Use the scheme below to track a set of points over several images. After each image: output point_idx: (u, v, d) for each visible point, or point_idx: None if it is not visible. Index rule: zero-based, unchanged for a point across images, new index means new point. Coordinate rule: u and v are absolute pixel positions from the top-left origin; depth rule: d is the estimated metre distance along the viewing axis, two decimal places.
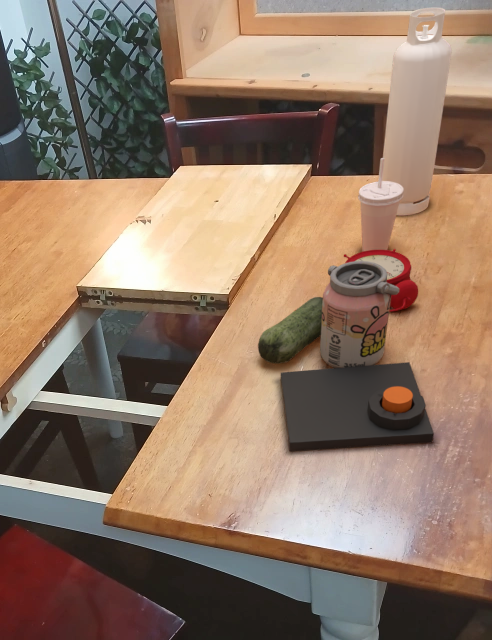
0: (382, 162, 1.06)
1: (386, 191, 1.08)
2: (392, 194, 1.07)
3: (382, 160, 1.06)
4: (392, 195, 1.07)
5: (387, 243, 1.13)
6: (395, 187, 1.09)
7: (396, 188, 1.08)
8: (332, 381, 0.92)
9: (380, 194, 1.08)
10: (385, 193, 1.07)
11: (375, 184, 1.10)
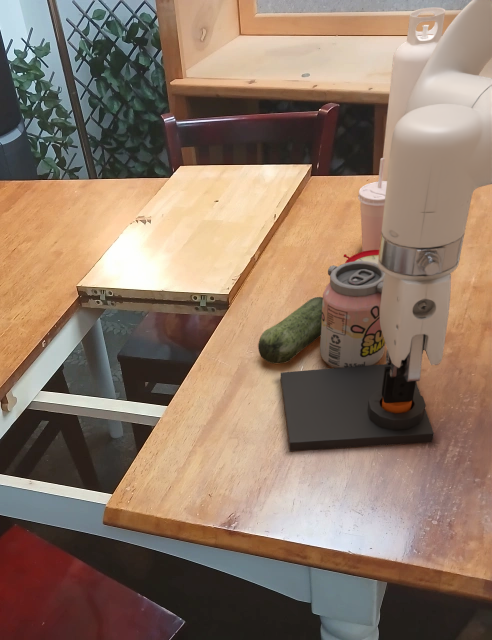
0: (382, 162, 1.06)
1: None
2: None
3: (382, 160, 1.06)
4: None
5: None
6: None
7: None
8: (332, 381, 0.92)
9: (380, 194, 1.08)
10: (385, 193, 1.07)
11: (375, 184, 1.10)
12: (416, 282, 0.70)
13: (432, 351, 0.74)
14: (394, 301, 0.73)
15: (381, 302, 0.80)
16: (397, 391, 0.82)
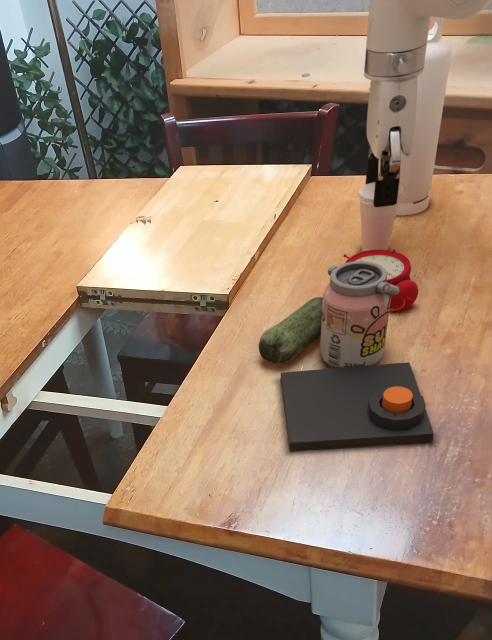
0: None
1: None
2: None
3: None
4: None
5: (387, 243, 1.13)
6: None
7: None
8: (332, 381, 0.92)
9: None
10: None
11: None
12: (392, 82, 0.95)
13: (404, 141, 0.99)
14: (376, 102, 0.98)
15: (367, 115, 1.05)
16: (384, 194, 1.05)
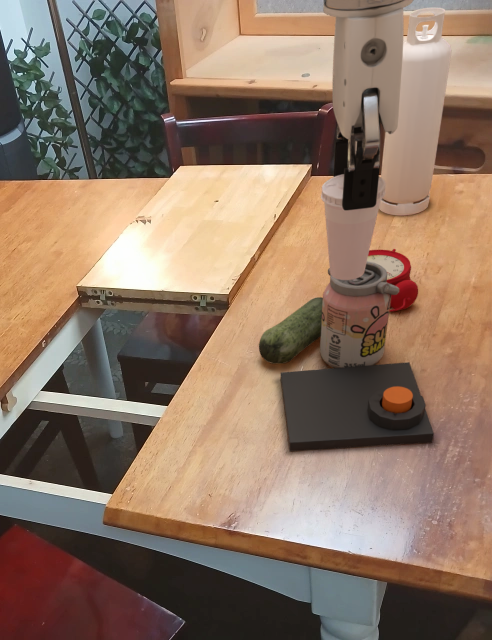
0: None
1: None
2: None
3: None
4: None
5: (364, 261, 0.79)
6: None
7: None
8: (332, 381, 0.92)
9: None
10: None
11: None
12: (364, 18, 0.61)
13: (385, 111, 0.65)
14: (341, 52, 0.64)
15: None
16: (357, 191, 0.71)
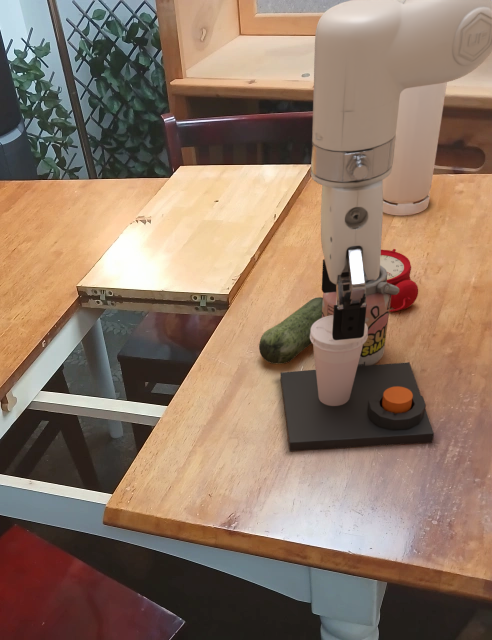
0: None
1: None
2: None
3: None
4: None
5: (349, 390, 0.88)
6: None
7: None
8: None
9: None
10: None
11: (332, 319, 0.84)
12: (347, 189, 0.68)
13: (368, 264, 0.72)
14: (328, 213, 0.71)
15: None
16: (346, 326, 0.77)
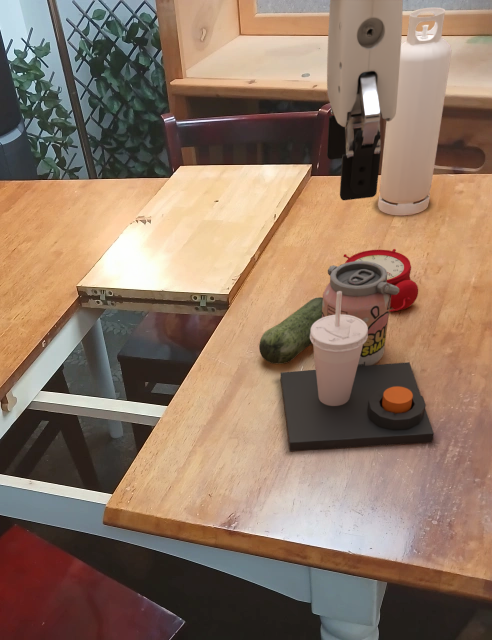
0: (339, 296, 0.81)
1: (345, 332, 0.82)
2: (353, 336, 0.82)
3: (339, 294, 0.81)
4: (353, 338, 0.82)
5: (349, 390, 0.88)
6: (357, 325, 0.83)
7: (358, 327, 0.83)
8: None
9: (337, 336, 0.82)
10: (344, 335, 0.82)
11: (332, 319, 0.84)
12: None
13: (383, 97, 0.61)
14: (336, 33, 0.61)
15: None
16: (356, 179, 0.66)
